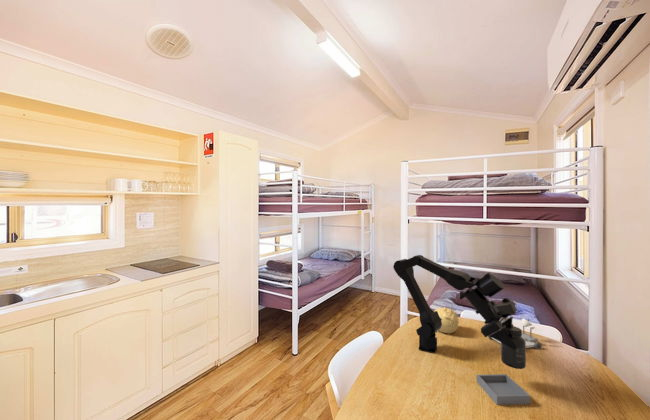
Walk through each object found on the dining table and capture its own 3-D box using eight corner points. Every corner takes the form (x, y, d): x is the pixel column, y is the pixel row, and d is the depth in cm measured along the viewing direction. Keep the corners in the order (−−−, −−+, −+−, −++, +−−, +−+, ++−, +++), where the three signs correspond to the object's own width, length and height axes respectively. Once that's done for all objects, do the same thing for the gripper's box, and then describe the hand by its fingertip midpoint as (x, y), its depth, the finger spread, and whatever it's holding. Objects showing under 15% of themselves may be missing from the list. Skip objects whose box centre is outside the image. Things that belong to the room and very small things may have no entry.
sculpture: (457, 338, 117) (457, 315, 117) (429, 331, 123) (429, 309, 123) (459, 328, 127) (459, 306, 127) (434, 323, 133) (433, 302, 133)
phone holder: (521, 314, 120) (546, 325, 108) (521, 335, 120) (547, 349, 108) (487, 318, 117) (510, 329, 105) (488, 339, 117) (510, 353, 105)
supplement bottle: (523, 361, 88) (524, 326, 88) (527, 372, 82) (527, 334, 82) (499, 356, 92) (500, 322, 92) (501, 365, 86) (502, 329, 86)
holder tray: (497, 404, 77) (497, 396, 77) (476, 382, 88) (476, 374, 88) (530, 404, 78) (530, 395, 78) (506, 381, 88) (506, 374, 88)
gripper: (492, 298, 83) (535, 345, 75) (506, 286, 96) (544, 325, 88) (465, 315, 89) (503, 360, 81) (482, 301, 102) (516, 339, 94)
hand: (518, 345), depth 86 cm, fingers closed on supplement bottle, 7 cm apart
